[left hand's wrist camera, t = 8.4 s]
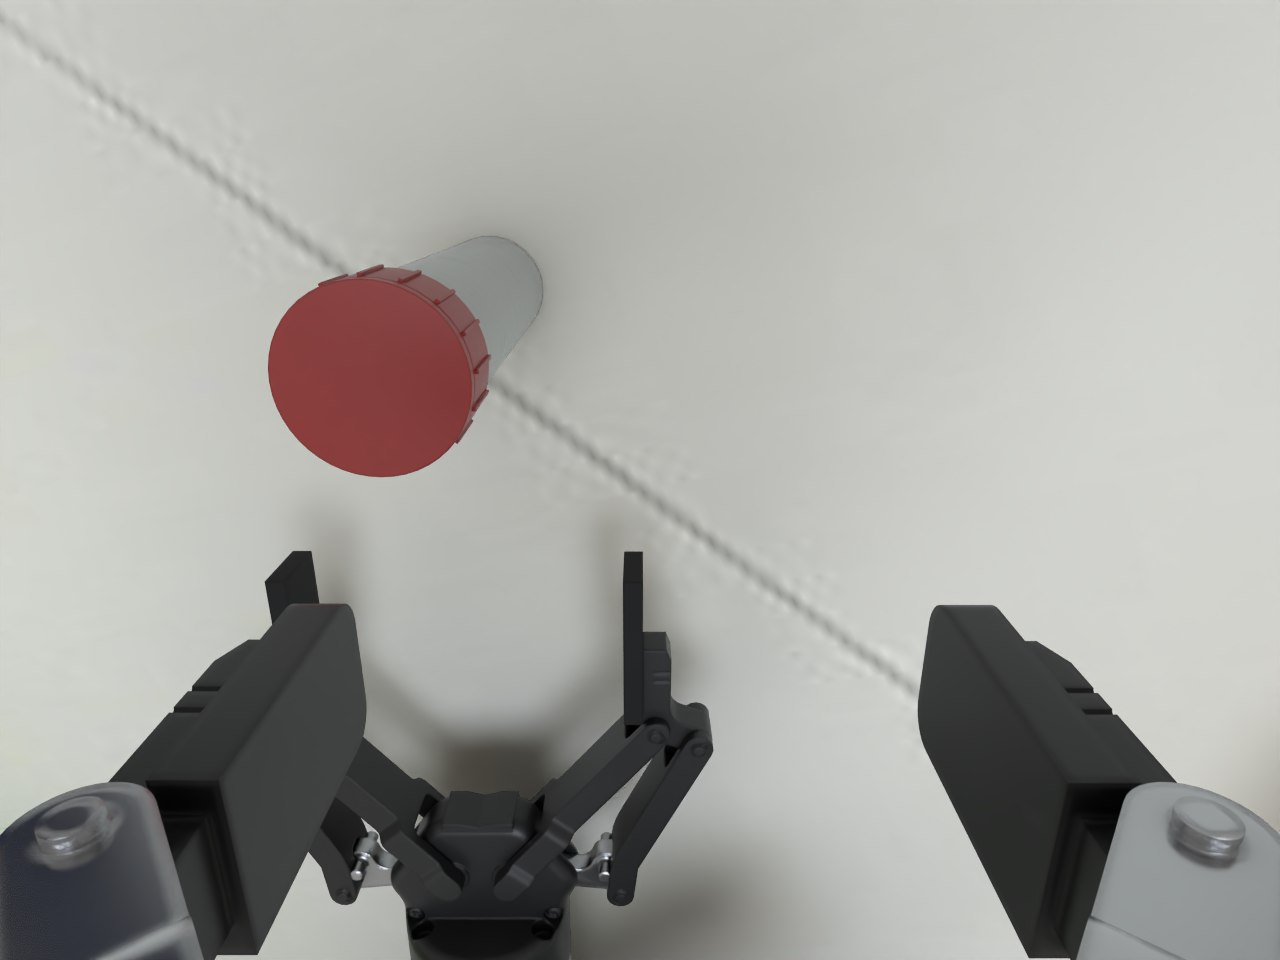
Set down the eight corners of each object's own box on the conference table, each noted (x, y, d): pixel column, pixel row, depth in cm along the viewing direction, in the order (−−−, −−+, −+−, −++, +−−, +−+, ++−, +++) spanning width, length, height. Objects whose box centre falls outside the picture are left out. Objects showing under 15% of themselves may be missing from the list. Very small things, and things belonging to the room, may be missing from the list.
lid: (346, 466, 22) (313, 499, 20) (275, 293, 20) (231, 307, 18) (514, 424, 22) (500, 453, 19) (456, 243, 20) (433, 251, 18)
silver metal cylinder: (461, 349, 35) (326, 480, 20) (428, 251, 34) (255, 312, 19) (555, 324, 35) (489, 439, 20) (525, 224, 34) (430, 265, 18)
